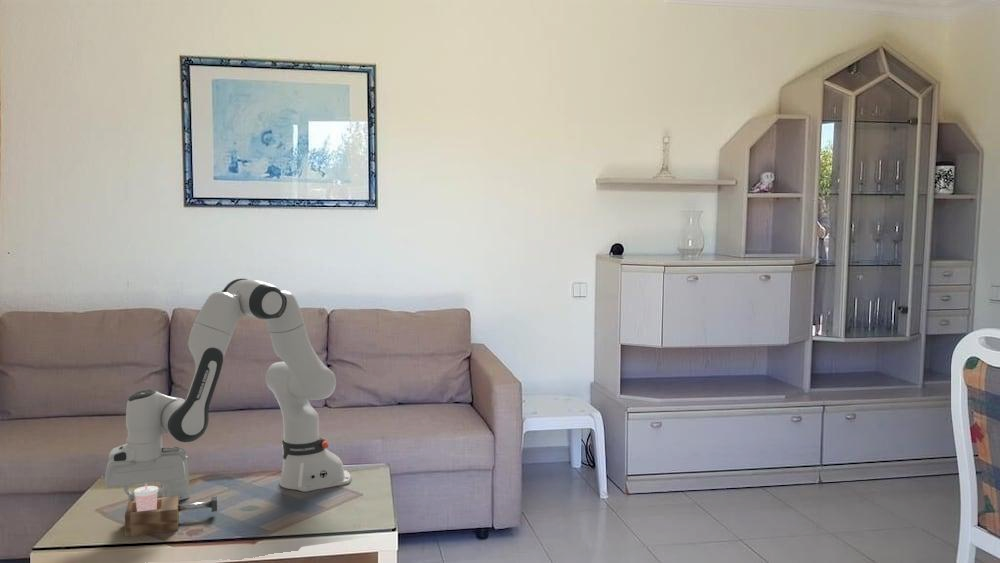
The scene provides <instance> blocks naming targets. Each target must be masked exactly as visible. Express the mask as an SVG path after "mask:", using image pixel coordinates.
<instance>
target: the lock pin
mask: <svg viewBox="0 0 1000 563" xmlns="http://www.w3.org/2000/svg"><path fill="white" fill-rule="evenodd" d="M210 499H211V500H209V501H203V502H201V501H200V502H193V503H185V504H179V505H178V512H179V513H180V512H186V511H193V510H194V511H195V510H202V509H210V508H211V512H213V513H214V512H218V496H211V498H210Z"/></svg>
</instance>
